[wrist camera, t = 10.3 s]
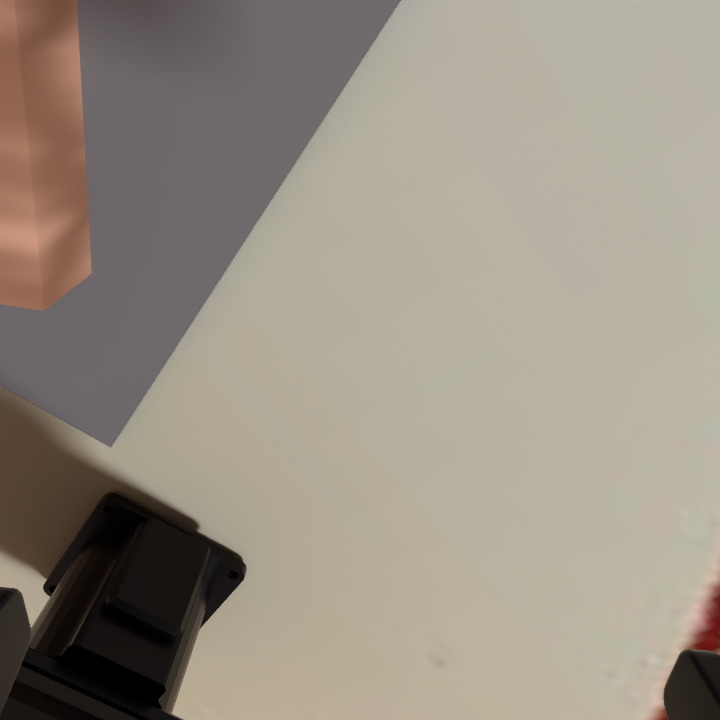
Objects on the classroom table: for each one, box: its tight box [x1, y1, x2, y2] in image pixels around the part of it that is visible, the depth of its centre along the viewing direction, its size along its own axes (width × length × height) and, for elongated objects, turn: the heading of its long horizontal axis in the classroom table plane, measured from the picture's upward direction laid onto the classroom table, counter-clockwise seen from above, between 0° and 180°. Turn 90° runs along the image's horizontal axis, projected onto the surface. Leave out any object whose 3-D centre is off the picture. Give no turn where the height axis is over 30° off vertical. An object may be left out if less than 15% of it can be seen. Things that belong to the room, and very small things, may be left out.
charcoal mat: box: [0, 0, 401, 447], centre depth 17 cm, size 20×16×1 cm
